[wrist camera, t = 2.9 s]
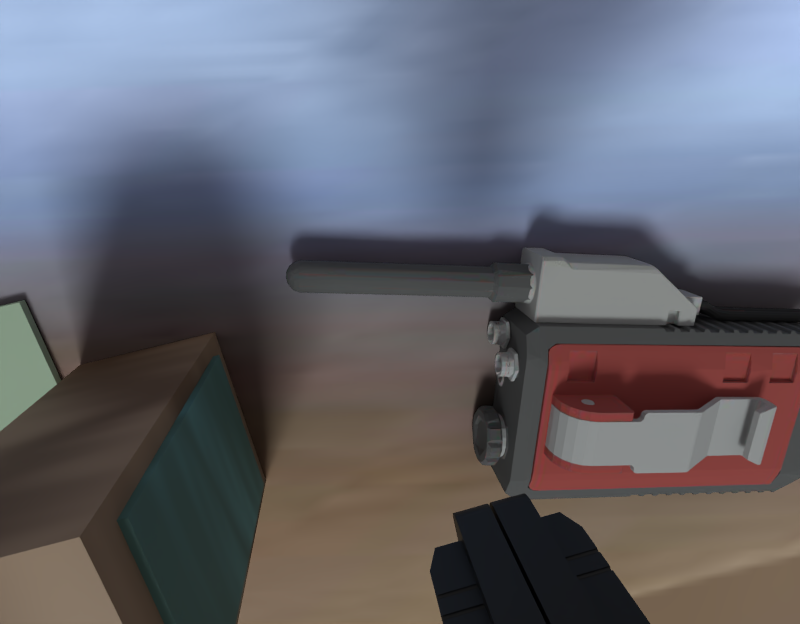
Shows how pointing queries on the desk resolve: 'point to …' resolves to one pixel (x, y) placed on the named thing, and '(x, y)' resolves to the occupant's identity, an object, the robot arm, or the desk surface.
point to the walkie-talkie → (613, 375)
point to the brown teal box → (130, 494)
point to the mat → (22, 362)
